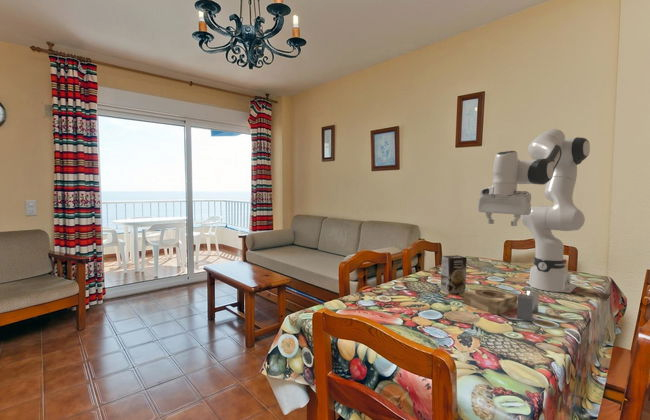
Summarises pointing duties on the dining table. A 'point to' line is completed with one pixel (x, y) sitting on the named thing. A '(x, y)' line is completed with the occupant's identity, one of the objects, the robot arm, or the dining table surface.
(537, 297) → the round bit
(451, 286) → the coffee box
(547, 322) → the dining table surface
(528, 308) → the square bit
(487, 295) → the bore block
